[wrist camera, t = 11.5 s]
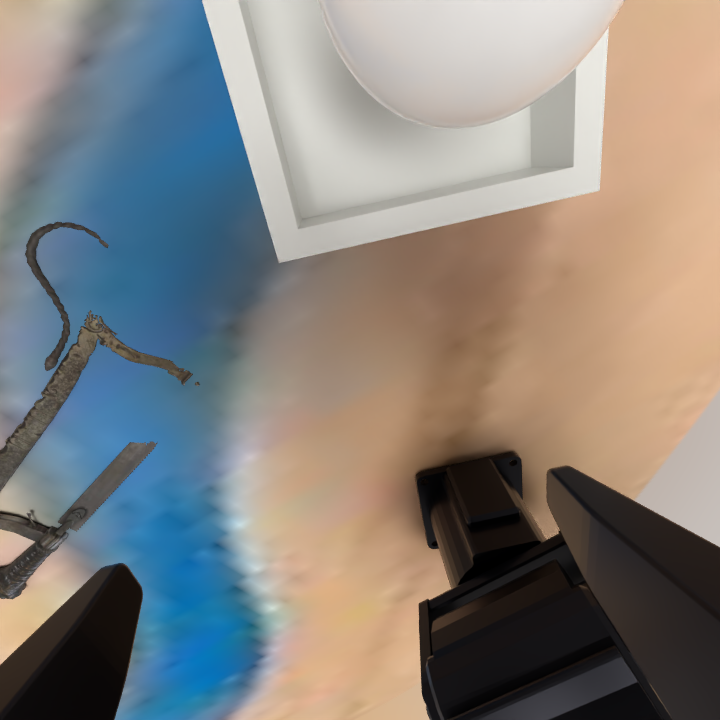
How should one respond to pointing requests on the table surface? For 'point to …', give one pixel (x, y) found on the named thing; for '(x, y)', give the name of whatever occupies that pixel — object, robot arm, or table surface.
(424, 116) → the lightbulb
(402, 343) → the table surface
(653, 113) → the table surface
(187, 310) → the table surface
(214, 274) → the table surface
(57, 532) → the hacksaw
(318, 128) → the tray
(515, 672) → the robot arm
